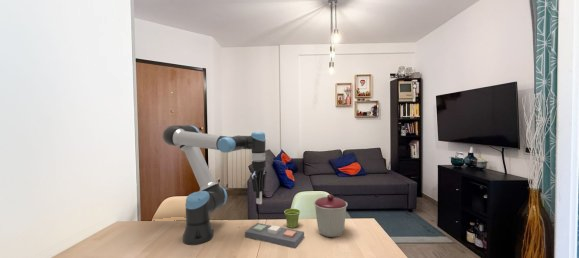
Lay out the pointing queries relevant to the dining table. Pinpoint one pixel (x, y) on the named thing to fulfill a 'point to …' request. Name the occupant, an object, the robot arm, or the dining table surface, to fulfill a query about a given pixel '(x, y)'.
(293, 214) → the plant pot
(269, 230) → the cream key
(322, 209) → the canister
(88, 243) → the dining table surface
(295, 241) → the keypad
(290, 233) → the terracotta key
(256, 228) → the sage key
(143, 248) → the dining table surface
